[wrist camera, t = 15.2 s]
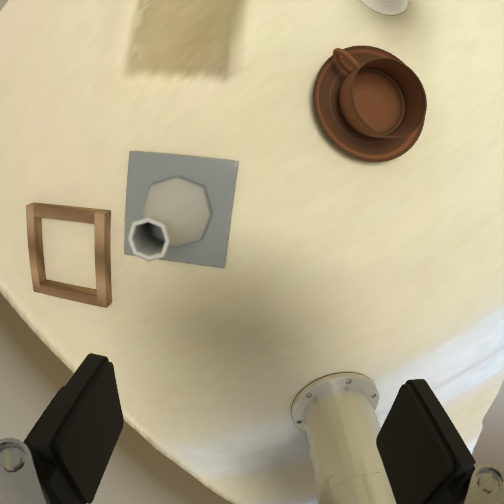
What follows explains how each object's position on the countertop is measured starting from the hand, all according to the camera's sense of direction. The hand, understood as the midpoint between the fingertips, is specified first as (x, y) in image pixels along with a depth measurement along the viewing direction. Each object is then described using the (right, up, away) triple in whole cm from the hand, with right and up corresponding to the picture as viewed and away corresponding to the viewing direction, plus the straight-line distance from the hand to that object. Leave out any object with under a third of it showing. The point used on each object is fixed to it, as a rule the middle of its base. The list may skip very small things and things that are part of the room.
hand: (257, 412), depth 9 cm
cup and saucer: (+11, +20, +20) cm, 30 cm away
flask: (-8, +9, +22) cm, 25 cm away
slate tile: (-8, +9, +23) cm, 26 cm away
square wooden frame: (-22, +5, +24) cm, 33 cm away
